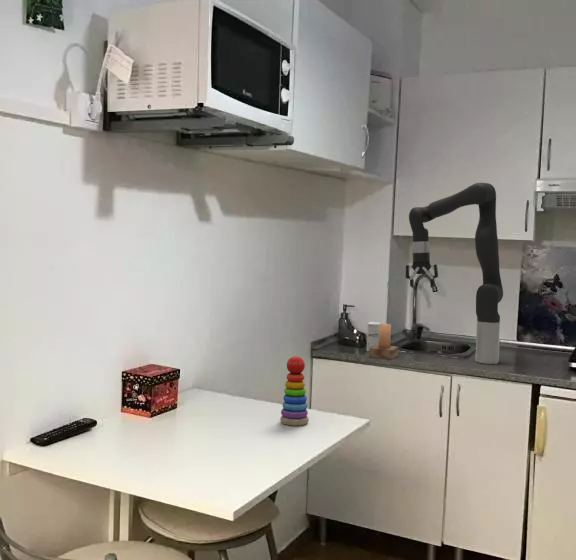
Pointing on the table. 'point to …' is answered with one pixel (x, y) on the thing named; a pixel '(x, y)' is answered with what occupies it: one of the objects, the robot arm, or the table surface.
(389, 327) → the orange tan block
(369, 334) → the supplement box
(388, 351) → the base
